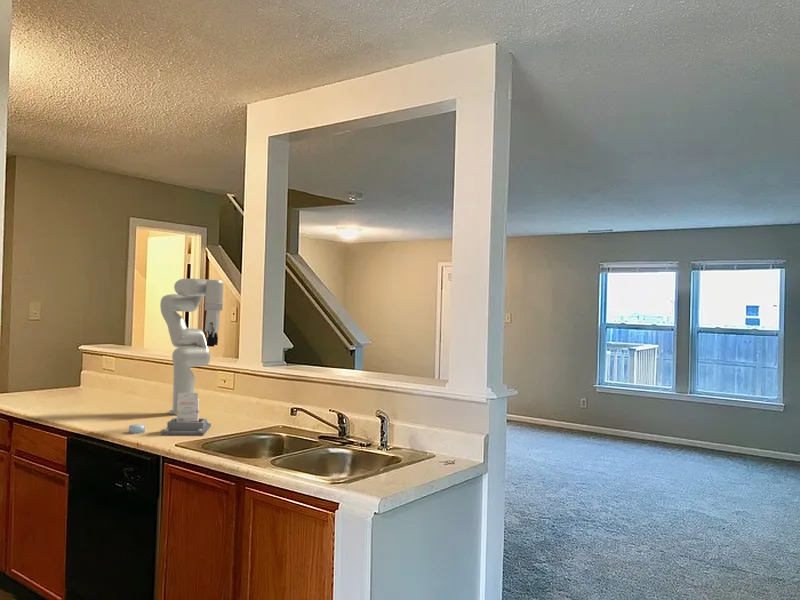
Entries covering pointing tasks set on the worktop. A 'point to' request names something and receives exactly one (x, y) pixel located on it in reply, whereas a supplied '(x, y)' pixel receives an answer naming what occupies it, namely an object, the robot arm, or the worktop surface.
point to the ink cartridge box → (188, 407)
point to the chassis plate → (187, 427)
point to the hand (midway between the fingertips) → (212, 345)
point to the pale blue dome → (137, 428)
